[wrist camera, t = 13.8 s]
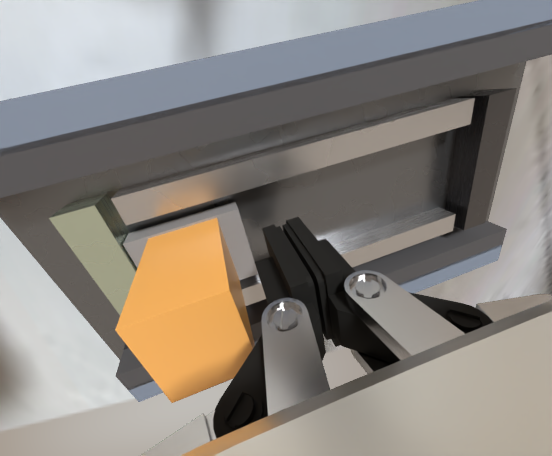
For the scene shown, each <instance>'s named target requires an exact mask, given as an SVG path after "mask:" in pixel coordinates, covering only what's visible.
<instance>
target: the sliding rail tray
mask: <svg viewBox="0 0 552 456" xmlns="http://www.w3.org/2000/svg"><path fill="white" fill-rule="evenodd" d="M551 54H552V0H479V1H474V2H469V3H465V4H460V5H455V6H450V7H446V8H441V9H436V10H431V11H427V12H422V13H417V14H412V15H408V16H403V17H398V18H393V19H389V20H384V21H379V22H374V23H370V24H365V25H360V26H355V27H351V28H346V29H341V30H336V31H332V32H327V33H322V34H317V35H313V36H308V37H303V38H298V39H294V40H289V41H284V42H279V43H275V44H270V45H265V46H260V47H256V48H251V49H246V50H241V51H237V52H232V53H227V54H222V55H218V56H213V57H208V58H203V59H199V60H194V61H189V62H184V63H180V64H175V65H170V66H165V67H161V68H156V69H151V70H146V71H142V72H137V73H132V74H127V75H123V76H118V77H113V78H108V79H104V80H99V81H94V82H89V83H85V84H80V85H75V86H70V87H66V88H61V89H56V90H51V91H47V92H42V93H37V94H32V95H28V96H23V97H18V98H13V99H9V100H4V101H0V198H3V197H7V196H10V195H14V194H18V193H22V192H26V191H30V190H33V189H37V188H41V187H45V186H49V185H53V184H56V183H60V182H64V181H68V180H72V179H76V178H79V177H83V176H87V175H91V174H95V173H99V172H102V171H106V170H110V169H114V168H118V167H122V166H125V165H129V164H133V163H137V162H141V161H145V160H148V159H152V158H156V157H160V156H164V155H168V154H171V153H175V152H179V151H183V150H187V149H191V148H194V147H198V146H202V145H206V144H210V143H214V142H217V141H221V140H225V139H229V138H233V137H237V136H240V135H244V134H248V133H252V132H256V131H260V130H263V129H267V128H271V127H275V126H279V125H283V124H286V123H290V122H294V121H298V120H302V119H306V118H309V117H313V116H317V115H321V114H325V113H329V112H332V111H336V110H340V109H344V108H348V107H352V106H355V105H359V104H363V103H367V102H371V101H375V100H378V99H382V98H386V97H390V96H394V95H398V94H401V93H405V92H409V91H413V90H417V89H421V88H424V87H428V86H432V85H436V84H440V83H444V82H447V81H451V80H455V79H459V78H463V77H467V76H470V75H474V74H478V73H482V72H486V71H490V70H493V69H497V68H501V67H505V66H509V65H513V64H516V63H520V62H524V61H528V60H532V59H536V58H539V57H543V56H547V55H551ZM506 230H507V229H505V228H503V227H500V226H498V225H495V224H493V223H491V222H488V221H485V223H483V224H480V225H478V226H475V227H472V228H469V229H467V230H462V229H460V228H458V229H455V230H453V231H451V232H448V233H446V234H443V235H440V236H437V237H435V238H432V239H429V240H426V241H424V242H421V243H418V244H415V245H413V246H410V247H407V248H404V249H402V250H399V251H396V252H393V253H391V254H388V255H385V256H382V257H380V258H377V259H374V260H371V261H369V262H366V263H363V264H360V265H358V266H355V267H352V268H353V269H354V270H355V271H356V272H357V271H362V270H371V271H376V272H379V273H381V274H383V275H385V276H386V277H388V278H389V279H390V280H392V281H393V282H394V283H396V284H397V285H399V286H400V287H401V288H403V289H404V290H406V291H407V292H409V293H416V292H419V291H421V290H424V289H426V288H429V287H431V286H434V285H436V284H439V283H441V282H444V281H446V280H449V279H452V278H454V277H457V276H459V275H462V274H464V273H467V272H469V271H472V270H474V269H477V268H479V267H482V266H484V265H487V264H490V263H492V262H495V261H497V260H498V258H499V255H500V251H501V248H502V244H503V241H504V237H505V234H506ZM267 306H268V303H267V300H266V299H264V300H261V301H259V302H256V303H253V304H250V305H248V306H246V310H247V314H248V318H249V323H250V327H251V331H252V335H253V339H254V344H255V345H256V343H257V342H258V340H259V338H260V337H261V335H262V322H261V320H262V314H263V312H264V310H265V309H266V307H267ZM116 377H117V378H118V379H119V380H120V382H121V383H122V384H123V385H124V386H125V387H126V388H127V389H128V390H129V392H130V393H131V394H132V395H133V396H134V397H135V398H136V399H137V400H138V402H140V401H143V400H145V399H148V398H150V397H153V396H155V395H158V394H161V393H163V391H162V390H161V388H160V387H159V386H158V385H157V383H156V382H155V381H154V379H153V378H152V377H151V376H150V374H149V373H148V372H147V370H146V369H145V368H144V367H143V365H142V364H141V363H140V361H139V360H138V359H137V358H136V356H135V355H134V354H133V352H132V351H131V350H130V349H129V348H128V349H125V350H123V353H122V356H121V360H120V363H119V367H118V370H117V373H116Z"/></svg>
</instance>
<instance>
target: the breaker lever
mask: <svg viewBox="0 0 552 456" xmlns="http://www.w3.org/2000/svg"><path fill="white" fill-rule="evenodd" d="M123 245H124V247H125V249H126V250H127V252H128V254H129V255H130V257H131V259H132V260H133V262H134V263H135V265H136V267H137V271H136V274H135V277H134V279H133V282H132V285H131V288H130V290H129V293H128V296H127V299H126V301H125V304H124V307H123V310H122V313H121V315H120V318H119V321H118V324H117V326H116V329H115V331H116V332H117V333H118V334H119V336H120V337H121V338H122V340H123V341H124V342H125V343H126V345H127V346H128V347H129V349H130V350H131V351H132V352H133V354H134V355H135V356H136V358H137V359H138V360H139V361H140V363H141V364H142V365H143V367H144V368H145V369H146V370H147V372H148V373H149V374H150V376H151V377H152V378H153V379H154V381H155V382H156V383H157V385H158V386H159V387H160V388H161V390H162V391H163V392H164V393H165V395H166V396H167V397H168V399H169V400H170V401H171V402H172V403H173V402H176V401H178V400H181V399H183V398H186V397H188V396H191V395H193V394H196V393H198V392H200V391H203V390H206V389H208V388H210V387H213V386H216V385H218V384H220V383H223V382H225V381H228V380H230V379H233V378H234V377H235V376H236V374H237V372H238V371H239V369H240V368H241V366H242V365H243V363H244V362H245V360H246V359H247V357H248V355H249V354H250V352H251V351H252V349H253V348H254V346H255V344H254V339H253V335H252V331H251V327H250V323H249V318H248V314H247V310H246V306H245V302H244V297H243V293H242V289H241V285H240V281H239V280H242V279H245V278H248V277H251V276H254V275H257V274H258V272H257V269H256V265H255V262H254V259H253V256H252V252H251V249H250V246H249V243H248V239H247V236H246V233H245V230H244V226H243V223H242V220H241V217H240V213H239V210H238V207H237V205H236V202H232V203H228V204H225V205H222V206H218V207H215V208H212V209H208V210H205V211H202V212H198V213H195V214H192V215H188V216H185V217H182V218H178V219H175V220H172V221H168V222H165V223H162V224H158V225H155V226H152V227H148V228H145V229H141V230H138V231H135V232H131V233H128V235H127V237H126V239H125V241H124V243H123Z"/></svg>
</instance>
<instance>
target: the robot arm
mask: <svg viewBox="0 0 552 456" xmlns="http://www.w3.org/2000/svg"><path fill="white" fill-rule="evenodd" d="M282 227H283V230H282V228H281V227H280V226H278V227H276V226H275V225H274V224H273V225H270V226H267V227H264V228H262V231H263V234H264V238H265V242H266V245H267V249H268V253H269V256H270V257H268V258H265V259H262V260H259V261H256V262H255V265H256V268H257V271H258V274H259V278H260V281H261V284H262V287H263V290H264V293H265V296H266V300H267V303H268V306H267V307H266V309H265V310H264V312H263V314H262V320H261V322H262V335H261V337H260V338H259V340H258V342H257V343H256V345H255V346H254V348H253V349H252V351H251V352H250V354H249V355H248V357H247V359H246V360H245V362H244V363H243V365H242V366H241V368H240V369H239V371H238V372H237V374H236V376H235V377H234V379H233V380H232V382H231V383H230V385H229V386H228V388H227V389H226V391H225V393H224V394H223V396H222V397H221V399H220V401H219V403H218V405H217V407H216V409H215V410H214V411H213V412H211V413H210V414H208V415H207V416H204V414H201V415H200V416H198V417H197V418H195V419H194V420H192V421H191V422H190V423H188V424H186V425H185V426H183V427H182V428H180V429H179V430H177V431H176V432H174V433H173V434H171V435H170V436H169V437H167V438H166V439H164V440H162V441H161V442H159V443H158V444H156V445H155V446H153V447H152V448H150V449H149V450H147V451H146V452H145V453H143V454H142V455H140V456H552V295H549V294H537V295H530V296H524V297H518V298H511V299H505V300H498V301H492V302H485V303H479V304H477V305H476V308H474V307H472V306H469V305H466V304H463V303H458V302H453V301H448V300H443V299H438V298H434V297H429V296H424V295H419V294H414V293H409V292H407V291H406V290H404V289H403V288H401V287H400V286H399V285H397V284H396V283H394V282H393V281H392V280H390V279H389V278H388V277H386V276H385V275H383V274H381V273H379V272H376V271H371V270H362V271H357V272H356V271H355V270H354V269H353V268H352V267H351V266H350V265H349V264H348V262H347V261H346V260H345V259H344V258H343V257H342V256H341V255H340V254H339V252H338V251H337V250H336V249H335V248H334V247H333V246H332V245H331V243H330V242H329V241H328V240H327V239H322V240H319V241H318V240H317V239H316V237H315V236H314V235H313V234H312V233H311V231H310V230H309V229H308V228H307V227H306V225H305V224H304V223H303V222H302V220H301V219H300V218H299V217H295V218H292V219H289V220H286V224H284V225H282ZM323 334H324V336H325V338H326V339H327V340H328V339H332V341H333V343H334V345H335V346H336V347H337V346H339V345H341V346H343V347H346V348H349V349H351V352H352V354H353V356H354V357H355V358H356V360H357V361H358V362H359V363H360V365H361V366H362V367H363V369H364V370H365V371H366V372H367V375H365V376H362V377H360V378H358V379H355V380H353V381H350V382H348V383H346V384H343V385H341V386H339V387H336V388H334V389H331V390H330V388H329V384H328V381H327V377H326V373H325V370H324V366H323V363H322V360H323V358H324V355H325V353H326V351H325V346H324V337H323Z"/></svg>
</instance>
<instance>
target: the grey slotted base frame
mask: <svg viewBox="0 0 552 456" xmlns="http://www.w3.org/2000/svg"><path fill="white" fill-rule="evenodd" d="M525 65H526V61H524V62H520V63H516V64H513V65H509V66H505V67H501V68H497V69H493V70H490V71H486V72H482V73H478V74H474V75H470V76H467V77H463V78H459V79H455V80H451V81H447V82H444V83H440V84H436V85H432V86H428V87H424V88H421V89H417V90H413V91H409V92H405V93H401V94H398V95H394V96H390V97H386V98H382V99H378V100H375V101H371V102H367V103H363V104H359V105H355V106H352V107H348V108H344V109H340V110H336V111H332V112H329V113H325V114H321V115H317V116H313V117H309V118H306V119H302V120H298V121H294V122H290V123H286V124H283V125H279V126H275V127H271V128H267V129H263V130H260V131H256V132H252V133H248V134H244V135H240V136H237V137H233V138H229V139H225V140H221V141H217V142H214V143H210V144H206V145H202V146H198V147H194V148H191V149H187V150H183V151H179V152H175V153H171V154H168V155H164V156H160V157H156V158H152V159H148V160H145V161H141V162H137V163H133V164H129V165H125V166H122V167H118V168H114V169H110V170H106V171H102V172H99V173H95V174H91V175H87V176H83V177H79V178H76V179H72V180H68V181H64V182H60V183H56V184H53V185H49V186H45V187H41V188H37V189H33V190H30V191H26V192H22V193H18V194H14V195H10V196H7V197H3V198H0V217H1V219H2V220H3V221H4V222H5V223H6V225H7V226H8V227H9V228H10V229H11V231H12V232H13V233H14V234H15V235H16V237H17V238H18V239H19V240H20V241H21V243H22V244H23V245H24V246H25V247H26V248H27V250H28V251H29V252H30V253H31V254H32V256H33V257H34V258H35V259H36V260H37V262H38V263H39V264H40V265H41V266H42V268H43V269H44V270H45V271H46V272H47V274H48V275H49V276H50V277H51V278H52V279H53V281H54V282H55V283H56V284H57V285H58V287H59V288H60V289H61V290H62V291H63V293H64V294H65V295H66V296H67V297H68V299H69V300H70V301H71V302H72V303H73V304H74V306H75V307H76V308H77V309H78V310H79V312H80V313H81V314H82V315H83V316H84V318H85V319H86V320H87V321H88V322H89V324H90V325H91V326H92V327H93V328H94V330H95V331H96V332H97V333H98V334H99V335H100V337H101V338H102V339H103V340H104V341H105V343H106V344H107V345H108V346H109V347H110V349H111V350H112V351H113V352H114V353H115V355H116V356H117V357H118V358H119V359H120V360H121V356H122V353H123V350H125V349H128V348H129V347H128V346H127V345H126V343H125V342H124V341H123V340H122V338H121V337H120V336H119V334H118V333H117V332H116V331H115V329H116V326H117V324H118V321H119V318H120V315H121V313H122V310H123V307H124V304H125V301H126V299H127V296H128V293H129V290H130V288H131V285H132V282H133V279H134V277H135V274H136V271H137V267H136V265H135V263H134V262H133V260H132V259H131V257H130V255H129V254H128V252H127V250H126V249H125V247H124V245H123V243H124V241H125V239H126V237H127V235H128V233H131V232H135V231H138V230H141V229H145V228H148V227H152V226H155V225H158V224H162V223H165V222H168V221H172V220H175V219H178V218H182V217H185V216H188V215H192V214H195V213H198V212H202V211H205V210H208V209H212V208H215V207H218V206H222V205H225V204H228V203H232V202H236V205H237V207H238V210H239V213H240V217H241V220H242V223H243V226H244V230H245V233H246V236H247V239H248V243H249V246H250V249H251V252H252V256H253V259H254V262H256V261H259V260H262V259H265V258H268V257H270V256H269V253H268V249H267V245H266V242H265V238H264V234H263V231H262V228H264V227H267V226H270V225H273V224H274V225H275V226H276V227H278V226H280V227H281V228H282V230H283V227H282V225H284V224H286V220H289V219H292V218H295V217H299V218H300V219H301V220H302V222H303V223H304V224H305V225H306V227H307V228H308V229H309V230H310V231H311V233H312V234H313V235H314V236H315V237H316V239H317V240H318V241H319V240H322V239H327V240H328V241H329V242H330V243H331V245H332V246H333V247H334V248H335V249H336V250H337V251H338V252H339V254H340V255H341V256H342V257H343V258H344V259H345V260H346V261H347V262H348V264H349V265H350V266H351V267H355V266H358V265H360V264H363V263H366V262H369V261H371V260H374V259H377V258H380V257H382V256H385V255H388V254H391V253H393V252H396V251H399V250H402V249H404V248H407V247H410V246H413V245H415V244H418V243H421V242H424V241H426V240H429V239H432V238H435V237H437V236H440V235H443V234H446V233H448V232H451V231H453V230H455V229H458V228H460V229H462V230H467V229H469V228H472V227H475V226H478V225H480V224H483V223H485V221H488V219H489V215H490V210H491V206H492V202H493V198H494V194H495V190H496V185H497V181H498V177H499V173H500V169H501V165H502V160H503V156H504V152H505V148H506V144H507V140H508V135H509V131H510V127H511V123H512V119H513V115H514V110H515V106H516V102H517V98H518V94H519V90H520V85H521V81H522V77H523V73H524V69H525ZM256 269H257V268H256ZM257 272H258V271H257ZM239 281H240V285H241V289H242V293H243V297H244V302H245V306H248V305H250V304H253V303H256V302H259V301H261V300H264V299H266V296H265V293H264V290H263V287H262V284H261V281H260V278H259V274H257V275H254V276H251V277H248V278H245V279H242V280H239Z"/></svg>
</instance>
